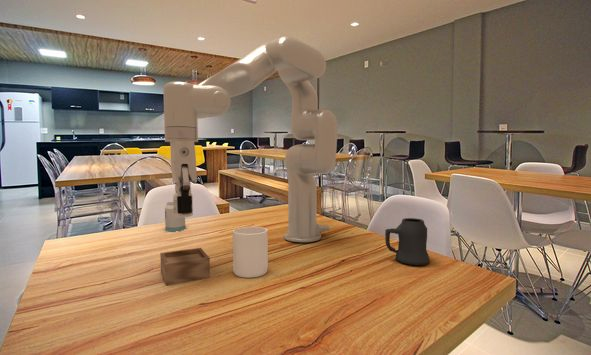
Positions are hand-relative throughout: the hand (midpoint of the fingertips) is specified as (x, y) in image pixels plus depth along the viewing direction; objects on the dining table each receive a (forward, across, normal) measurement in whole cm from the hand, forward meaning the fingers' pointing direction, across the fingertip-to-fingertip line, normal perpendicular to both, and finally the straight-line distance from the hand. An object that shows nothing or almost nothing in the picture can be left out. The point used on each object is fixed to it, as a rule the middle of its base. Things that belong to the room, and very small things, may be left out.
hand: (183, 210), depth 81 cm
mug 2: (+16, -14, -58) cm, 62 cm away
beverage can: (+16, +45, -2) cm, 48 cm away
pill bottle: (+2, 0, 0) cm, 2 cm away
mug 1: (+16, -4, -16) cm, 23 cm away
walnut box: (+16, 0, 0) cm, 16 cm away
